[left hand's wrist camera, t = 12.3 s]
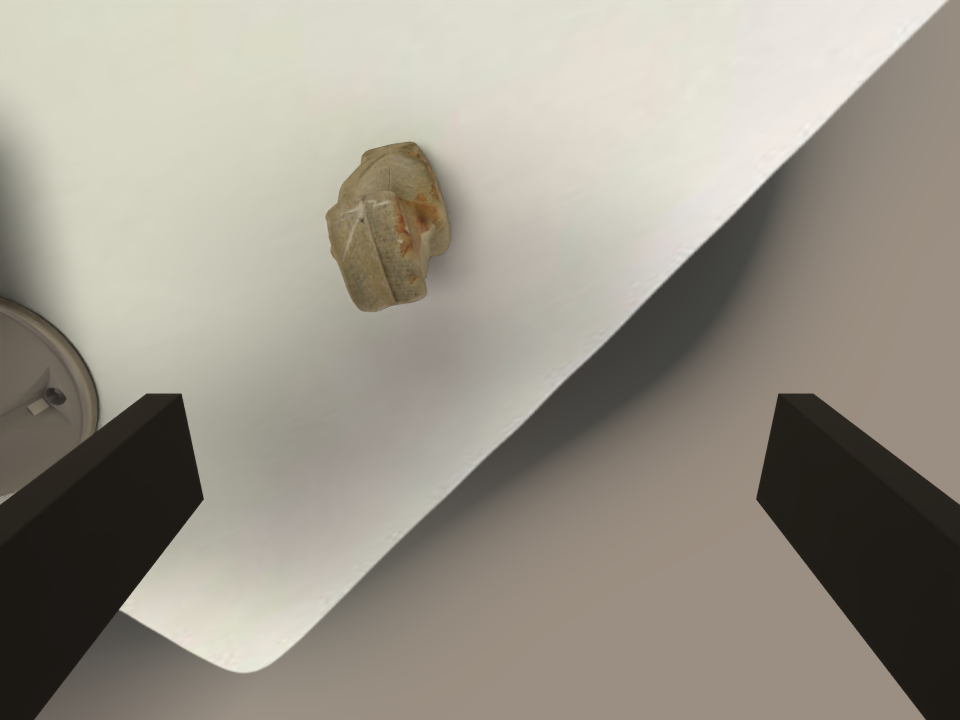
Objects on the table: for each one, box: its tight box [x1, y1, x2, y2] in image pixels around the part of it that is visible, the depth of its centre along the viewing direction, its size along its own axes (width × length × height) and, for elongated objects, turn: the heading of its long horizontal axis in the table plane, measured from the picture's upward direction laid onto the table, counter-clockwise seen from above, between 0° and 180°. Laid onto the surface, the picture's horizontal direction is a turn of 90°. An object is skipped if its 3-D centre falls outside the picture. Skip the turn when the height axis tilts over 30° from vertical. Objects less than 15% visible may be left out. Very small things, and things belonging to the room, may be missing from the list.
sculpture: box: [325, 142, 451, 312], centre depth 30 cm, size 6×7×15 cm
